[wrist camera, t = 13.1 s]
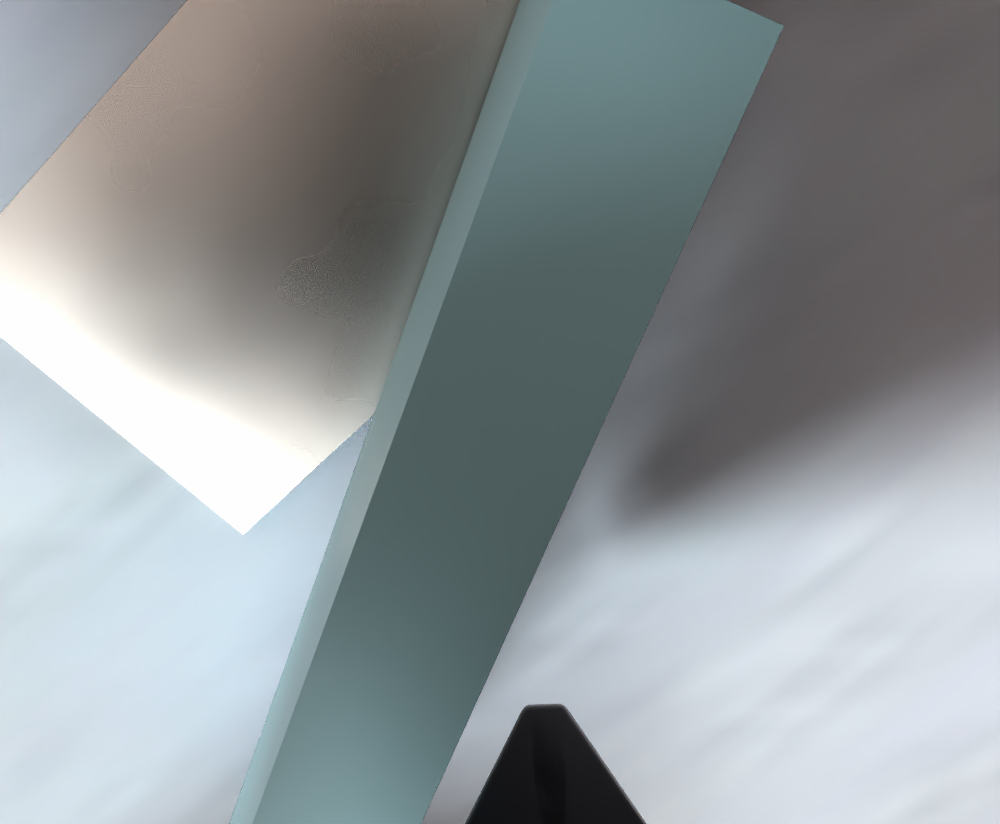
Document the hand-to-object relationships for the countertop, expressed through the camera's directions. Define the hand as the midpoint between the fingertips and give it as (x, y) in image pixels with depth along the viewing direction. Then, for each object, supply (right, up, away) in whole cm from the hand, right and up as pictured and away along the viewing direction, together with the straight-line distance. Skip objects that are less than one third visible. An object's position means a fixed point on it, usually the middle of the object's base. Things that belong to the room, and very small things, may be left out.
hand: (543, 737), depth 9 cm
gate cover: (-1, +2, +1) cm, 3 cm away
